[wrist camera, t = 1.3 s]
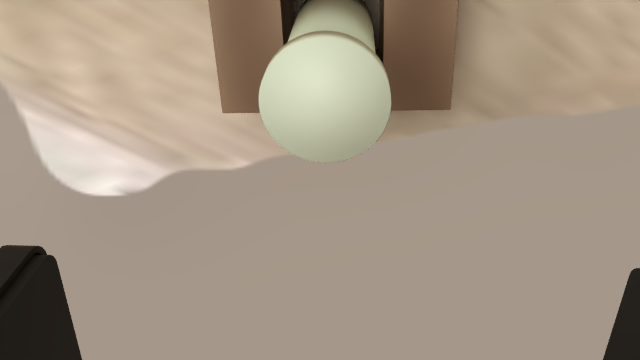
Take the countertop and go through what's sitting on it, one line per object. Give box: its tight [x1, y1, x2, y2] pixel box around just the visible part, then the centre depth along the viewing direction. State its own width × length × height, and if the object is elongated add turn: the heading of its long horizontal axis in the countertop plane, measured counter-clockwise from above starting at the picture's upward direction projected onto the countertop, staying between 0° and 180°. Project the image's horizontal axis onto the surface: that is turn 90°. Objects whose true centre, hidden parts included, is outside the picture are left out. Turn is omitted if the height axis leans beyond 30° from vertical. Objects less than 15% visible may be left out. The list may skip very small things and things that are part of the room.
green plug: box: [259, 0, 391, 163], centre depth 26 cm, size 5×5×10 cm
